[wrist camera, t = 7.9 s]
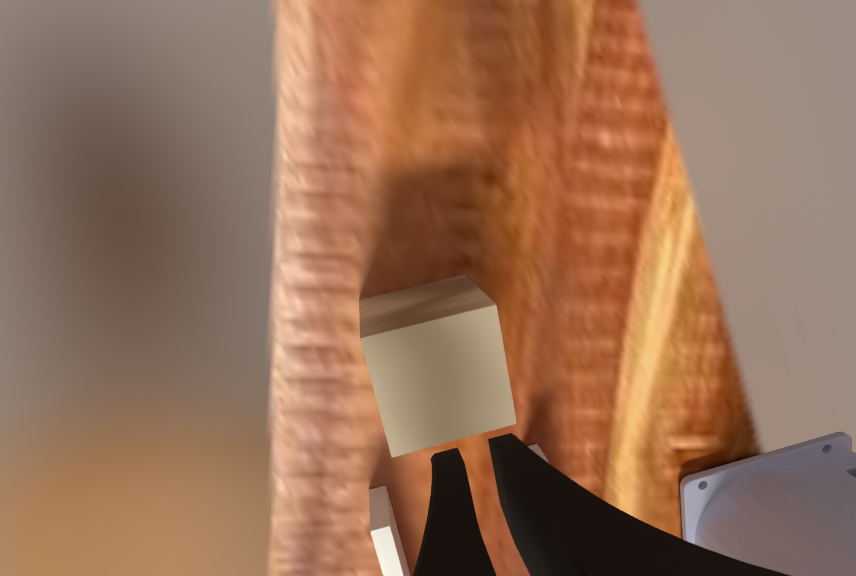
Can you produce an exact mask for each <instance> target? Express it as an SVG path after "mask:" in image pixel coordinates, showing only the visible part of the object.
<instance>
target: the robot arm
mask: <svg viewBox="0 0 856 576" xmlns="http://www.w3.org/2000/svg"><path fill="white" fill-rule="evenodd" d="M488 441H489V447H490V452H491V457H492V463H493V468H494V473H495V479H496V484H497V489H498V495H499V500H500V505H501V508H502V510H503V513H504V516H505V519H506V521H507V524H508V527H509V529H510V532H511V535H512V537H513V540H514V543H515V545H516V547H517V549H518V551H519V553H520V555H521V557H522V559H523V561H524V563H525V565H526V567H527V569H528V571H529V573H530V575H531V576H856V453H853V452H852V451H851V449H852V439H851V437H850V436H849V435H847V434H845V433H843V432H837V433H834V434H830V435H826V436H823V437H819V438H816V439H812V440H809V441H805V442H802V443H799V444H796V445H792V446H788V447H785V448H781V449H778V450H774V451H771V452H767V453H764V454H760V455H757V456H754V457H750V458H747V459H743V460H740V461H736V462H733V463H729V464H726V465H722V466H719V467H715V468H712V469H709V470H705V471H702V472H698V473H695V474H691V475H688V476H686V477H684V478H683V479H682V481H681V483H680V495H681V514H682V533H683V539H680V538H678V537H676V536H674V535H671V534H669V533H667V532H664V531H662V530H660V529H658V528H655V527H653V526H651V525H649V524H647V523H645V522H643V521H641V520H638V519H637V518H635V517H633V516H631V515H629V514H627V513H625V512H623V511H621V510H619V509H618V508H616V507H614V506H612V505H610V504H609V503H607V502H605V501H604V500H602V499H600V498H599V497H597V496H596V495H594V494H593V493H591V492H589V491H588V490H586V489H585V488H583V487H582V486H580V485H579V484H577V483H576V482H574V481H573V480H571V479H570V478H569V477H567V476H566V475H564V474H563V473H562V472H560V471H559V470H557V469H556V468H555V467H553V466H552V465H551V464H549V463H548V462H547V461H545V460H544V459H543V458H542V457H540V456H539V455H538V454H537V453H535V452H534V451H533V450H532V449H530V448H529V447H528V446H527V445H526V444H524V443H523V442H522V441H521V440H520V439H518V438H517V437H516V436H515V435H513V434H512V433H509V434H506V435H502V436H498V437H495V438H491V439H488ZM431 463H432V486H431V496H430V503H429V510H428V516H427V522H426V526H425V531H424V535H423V540H422V544H421V548H420V552H419V556H418V560H417V563H416V566H415V570H414V573H413V576H496V573H495V571H494V568H493V566H492V563H491V560H490V558H489V555H488V552H487V550H486V547H485V544H484V542H483V539H482V536H481V533H480V529H479V526H478V522H477V518H476V513H475V509H474V504H473V500H472V495H471V490H470V486H469V481H468V477H467V472H466V468H465V463H464V461H463V459H462V456H461V454H460V452H459V450H458V448H454V449H450V450H447V451H443V452H439V453H435V454H434V455H433V456H432V458H431Z"/></svg>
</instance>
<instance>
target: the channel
mask: <svg viewBox="0 0 856 576" xmlns="http://www.w3.org/2000/svg"><path fill="white" fill-rule="evenodd" d="M528 447H529V448H530V449H532V450H533V451H534V452H535V453H537V454H538V455H539V456H540V457H542V458H543V459H544V460H545V461H547V462H548V463H549V461H548V460H547V458H546V457H545V455H544V454H543V452H542V451H541V449H540V448H539V446H538V445H537V444H534V445H531V446H528ZM549 464H550V463H549ZM369 507H370V532H371V535H372V538H373V542H374V545H375V549H376V552H377V556H378V559H379V562H380V566H381V569H382V573H383V576H410V572H409V569H408V565H407V561H406V557H405V554H404V550H403V546H402V543H401V539H400V535H399V532H398V528H397V524H396V520H395V517H394V513H393V509H392V506H391V502H390V498H389V495H388V491H387V487H386V485H385V486H381V487H377V488H374V489H370V490H369Z"/></svg>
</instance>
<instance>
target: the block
mask: <svg viewBox="0 0 856 576" xmlns="http://www.w3.org/2000/svg"><path fill="white" fill-rule="evenodd" d="M359 314H360V340H361V344H362V347H363V351H364V355H365V359H366V362H367V366H368V370H369V374H370V378H371V381H372V385H373V389H374V393H375V396H376V400H377V404H378V408H379V411H380V415H381V419H382V423H383V426H384V430H385V434H386V438H387V441H388V445H389V449H390V453H391V457H396V456H400V455H403V454H407V453H411V452H414V451H418V450H422V449H425V448H429V447H433V446H436V445H440V444H444V443H447V442H451V441H455V440H458V439H462V438H466V437H469V436H473V435H477V434H480V433H484V432H488V431H491V430H495V429H499V428H502V427H506V426H510V425H513V424H517V422H516V416H515V411H514V405H513V399H512V393H511V387H510V381H509V375H508V370H507V364H506V358H505V352H504V346H503V340H502V334H501V329H500V323H499V317H498V311H497V305H496V304H495V303H494V302H493V301H492V300H491V299H490V298H489V297H488V296H487V295H486V294H485V293H484V292H483V291H482V290H481V289H480V288H479V287H478V286H477V285H476V284H475V283H474V282H473V281H472V280H471V279H470V278H469V277H468V276H467V275H466V274H464V275H459V276H455V277H451V278H447V279H443V280H438V281H434V282H430V283H426V284H422V285H418V286H413V287H409V288H405V289H401V290H397V291H393V292H388V293H384V294H380V295H376V296H372V297H368V298H363V299H359Z"/></svg>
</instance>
